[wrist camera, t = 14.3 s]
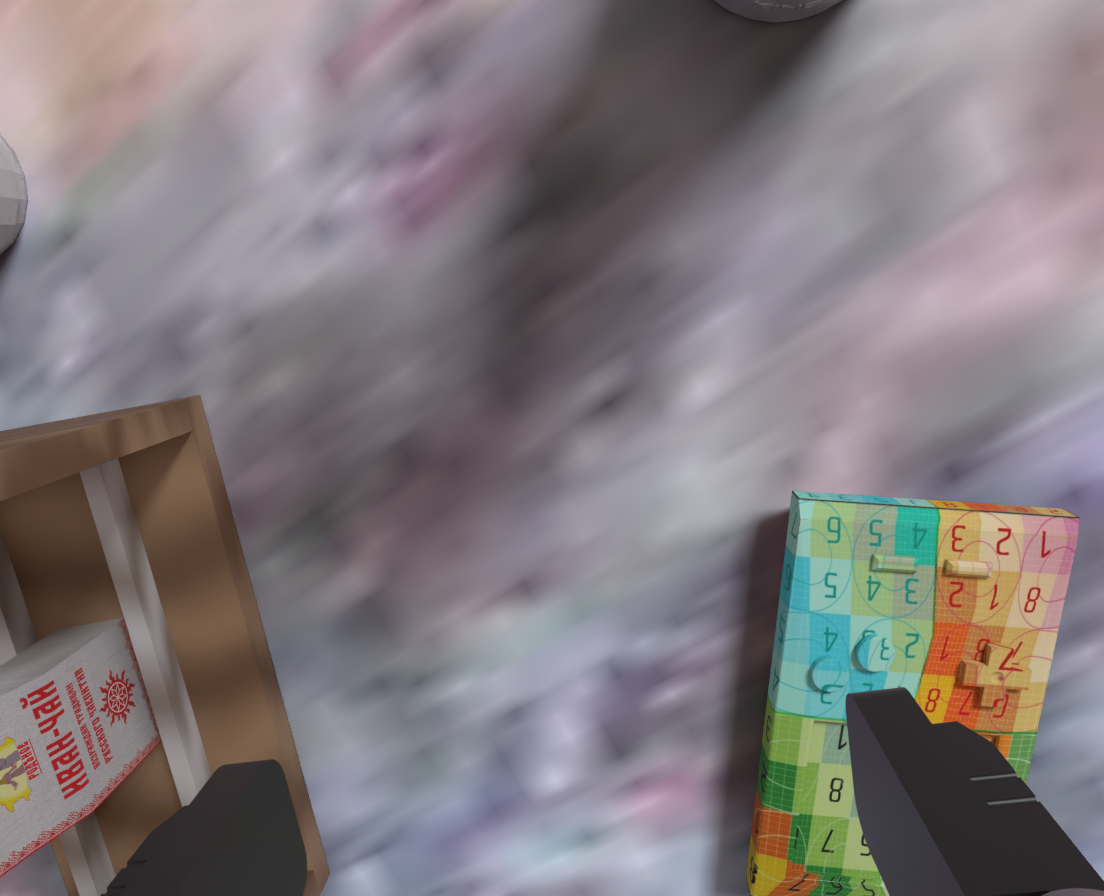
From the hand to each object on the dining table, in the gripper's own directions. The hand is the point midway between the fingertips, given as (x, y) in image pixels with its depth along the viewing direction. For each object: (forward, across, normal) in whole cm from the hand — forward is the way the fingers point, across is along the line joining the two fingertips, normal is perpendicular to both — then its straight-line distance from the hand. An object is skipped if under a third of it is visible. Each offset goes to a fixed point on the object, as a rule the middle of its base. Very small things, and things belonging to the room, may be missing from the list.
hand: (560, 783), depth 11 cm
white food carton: (+26, +26, +10) cm, 38 cm away
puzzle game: (+28, -12, +16) cm, 34 cm away
